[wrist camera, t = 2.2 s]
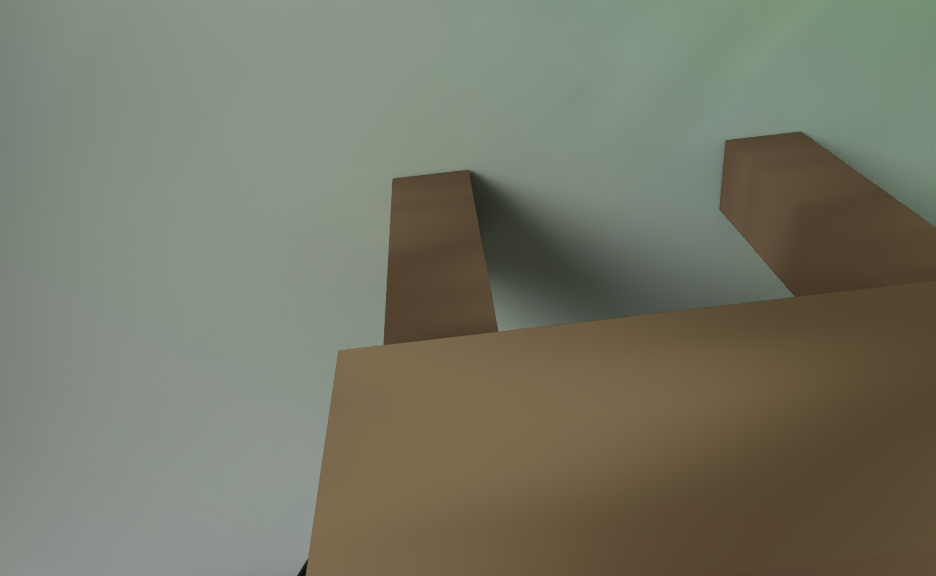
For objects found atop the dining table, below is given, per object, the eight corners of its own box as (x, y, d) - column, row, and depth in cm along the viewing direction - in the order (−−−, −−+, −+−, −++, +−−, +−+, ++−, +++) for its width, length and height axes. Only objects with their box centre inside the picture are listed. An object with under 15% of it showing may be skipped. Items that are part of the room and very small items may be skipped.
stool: (827, 106, 9) (1451, 487, 4) (771, 448, 13) (1070, 939, 7) (366, 159, 9) (299, 625, 4) (424, 490, 12) (436, 1018, 7)
